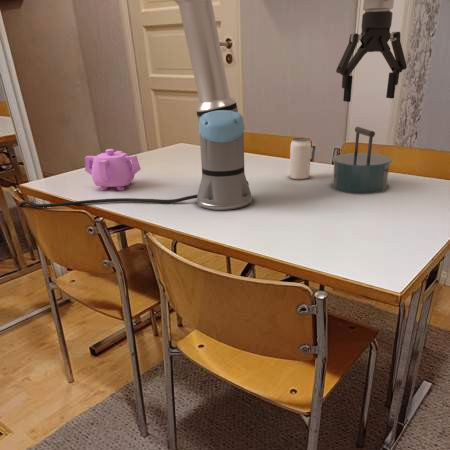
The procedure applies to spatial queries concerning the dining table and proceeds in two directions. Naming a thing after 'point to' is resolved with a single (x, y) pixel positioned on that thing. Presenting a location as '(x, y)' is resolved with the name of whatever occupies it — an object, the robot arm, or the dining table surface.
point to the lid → (362, 154)
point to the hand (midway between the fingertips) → (368, 99)
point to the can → (300, 158)
